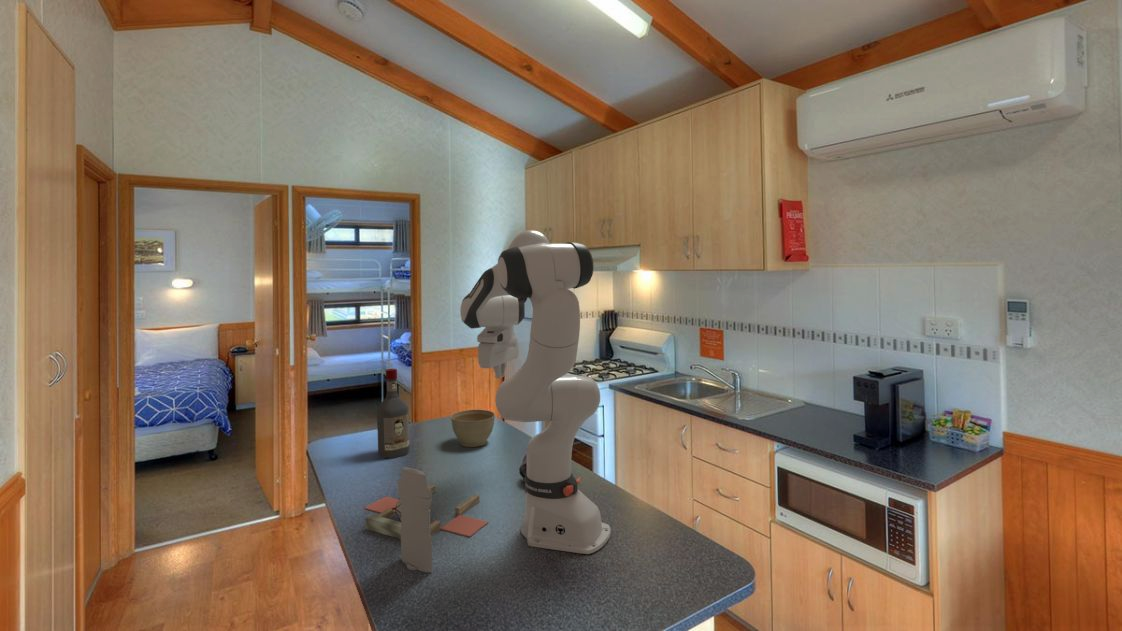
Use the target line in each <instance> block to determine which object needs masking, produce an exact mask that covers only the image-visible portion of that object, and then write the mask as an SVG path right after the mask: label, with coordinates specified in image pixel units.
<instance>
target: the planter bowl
mask: <svg viewBox="0 0 1122 631" xmlns="http://www.w3.org/2000/svg"><path fill="white" fill-rule="evenodd" d="M495 417H496V413H495V412H493V411H492V410H487V409H467V410H466V409H465V410H460V411H457V412H454V413H453V414H452V415H450V420H451V426H452V430H453V433H454V435H455V436H456V439H458V440H459V442H460V445H461V446H462V447H466V448H477V447H481V446H484V445H486V444H487V443H488V442H487V441H488V439H489V437H491V434H492V432H493V430H494V425H495Z"/></svg>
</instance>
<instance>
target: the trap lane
mask: <svg viewBox="0 0 1122 631" xmlns="http://www.w3.org/2000/svg"><path fill="white" fill-rule="evenodd" d="M428 486H429V488H430V489H431V493H433V494H434V492H435V493H436V490H437V489H436V485H435V484H430V485H428ZM479 503H481V502H480V495H479V494H474V495H472V496H470V497H469V498H467V499H466V500H464V501H462V502H461V503H459V505H457V506H455V507H454V514H455V516H459V515H463V514H465V513H466V512H467V511H469V510H470V509H472V508H473V507H475V506H476V505H479ZM394 517H395V516H394V513H393V510H392V509H390V508H389V509H387V510H385V511H383V512H382V513H378V514H371V513H370V514H369V515H368V516H365V530H369V531H372V532H375V533H378V534H381V535H382V534H383V535H385V536H388V537H389V536H390V537H393V538H396V539H399V540H401V524H402V522H401V521H398V520H395V519H392V518H394ZM440 528H441V521H440V520H434V521H432V522H430V534H431V537H432V536H433V535H434V533H435V534H436V533H437V532H439V531H440V530H441V529H440Z"/></svg>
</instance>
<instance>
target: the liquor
mask: <svg viewBox="0 0 1122 631" xmlns="http://www.w3.org/2000/svg"><path fill="white" fill-rule="evenodd" d="M385 379H386V395H385V398H384V399H383V400H382V401H381V403H380V404H378V407H377V408H376V422H377V425H376V426H377V427H376V428H377V429H376V430H377V452H378V454H379V456H381V457H383V458H384V459H396V458H399V457H403V456H406V455H407V454H408V453H409V452H410V424H409V423H410V422H409V419H410V418H409V406H408V404H406V402H404V401H403V399H402V398H401V397H399V393H398V369H397V368H388V369H386V370H385Z"/></svg>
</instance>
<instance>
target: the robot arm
mask: <svg viewBox="0 0 1122 631" xmlns="http://www.w3.org/2000/svg"><path fill="white" fill-rule="evenodd" d="M593 274H594V259H593V256H592V252H591V251H590V250H589V248H588V247H587V246H586V245H585V244H582V243H580V242H574V241H573V242H572V241H570V242H568V241H567V242H562V243H561V242H560V243H559V242H557V243H556V242H553V243H550V241H549V239H548V238H547V237H546V235H544V233H542V232H540V231H538V230H534V229H532V230H531V229H526V230H523V231H522V232H519V233H518V234H517V235H516V236H515V238H514V239H513V240H512V241H511V243H510V244H509V245H508V247H507V249H505V250H503V251H501V253H500V255H499V256H498V259H497V263H496V264H494V265H493V266H492V267H490V268H488V269H486V270H485V271H484V272H483V273H482V274H481V275H480V276H479V278H478V280H477V281H476V283H475V284H474V286H473V287H472V289H471V291H470V292H468V294H467V295H465V296H464V297H463V299H462V301H461V304H460V309H459V310H460V319H461V321H462V323H464V325H466V326H467V327H468V328H470V329H479V328H480V329H481V328H483V329H482V331H481V332H480V333H479V334H478V335H477V337H476V341H477V342H478V347H477V357H478V358H477V360H478V364H479V367H480V368H481V369H492V368H493V371H494V373H495V374H494V375H495V376H494V377H495V378H496V379H501V378H503V377H505V375H506V372H505V371H506V368H507V366H508V365H507V364H508V362H511V361H513V360H516V359H518V358H519V342H518V341H519V340H518V338H517V336H516V333H515V331H514V330H515V329H514V328H515V326H517V325H518V326H519V324H521V322H522V321H523V320H524V319H525V316H526V314H525V312H526V311H525V308H526V307H525V303H526V302H527V300H528V299H529V301H530V303H531V306H532V317H531V322H530V323H531V325H530V334H529V343H528V351H527V356H526V359H525V361H524V363H523V364H522V365H521V367H520V369H518V371H516V372H515V373H514V374H513V375H511V376H510V377H509V378H507V379H505V380H503V381H502V382H501V383H500V385H499V386H498V388H497V390H496V393H495V400H494V401H495V407H496V409H497V412H498V413H499V415H500V416H501V417H502V419H503V420H506V421H511V422H519V423H533V422H548V421H549V423H548V425H547V426H546V428H545V429H544V430H543V431H541V432H539V433H537V434H536V435H534V436H533V437H532V438H531V439H530V440H529V442H528V443H527V446H526V454H527V473H526V474H525V481H524V482H525V483H524V492H525V506H524V512H523V517H522V518H523V519H522V522H521V525H520V533H521V535H523V537H524V538H525V539H526V544H527V545H528V546H529V547H532V548H540V549H547V550H553V551H554V550H555V551H562V552H568V553H576V554H581V555H582V554H585V555H590V554H593V553H595V552H597V551H599V550H600V549H601V548H602V547H604V546H605V545H606V544H607V542H608V541H609V540H610V538H611V534H612V532H611V527H610V525H609V524H607V523H605V522H602V517H601V511H600V509H599V507H598V505H596V504H595V503H594V502H593V501H591V499H590V498H588V497H587V496H586V495H585V494H583V492H582V491H580V490H579V489H578V484H580V483H581V477H580V476H579V477H578V478H575V477H574V474H573V473H572V456H573V454H572V452H573V447H574V446H573V444H574V441H575V438H576V436H577V434H578V432H579V430H580V429H581V427H582V426H583V424H584V423H585V422H586V421H587V420H588V419H589V418H591V417H592V416H593V415H594V414H595V413H596V412H597V410H598V408H599V407H600V403H601V392H600V389H599V386H598V384H597V382H596V381H595V380H594V379H593V378H592V377H591V376H585V375H579V374H568V373H570V372H571V370H572V369H573V368H574V366H575V364H576V362H577V356H578V354H577V353H578V346H579V342H580V341H579V340H580V330H581V311H580V310H581V309H580V302H579V299H578V297H577V295H576V294H575V293H574V292H573V291H571V290H570V289H579V288H581V287H584V286H586V285H588V284H589V283H590V282H591V279H592V278H593Z"/></svg>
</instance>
